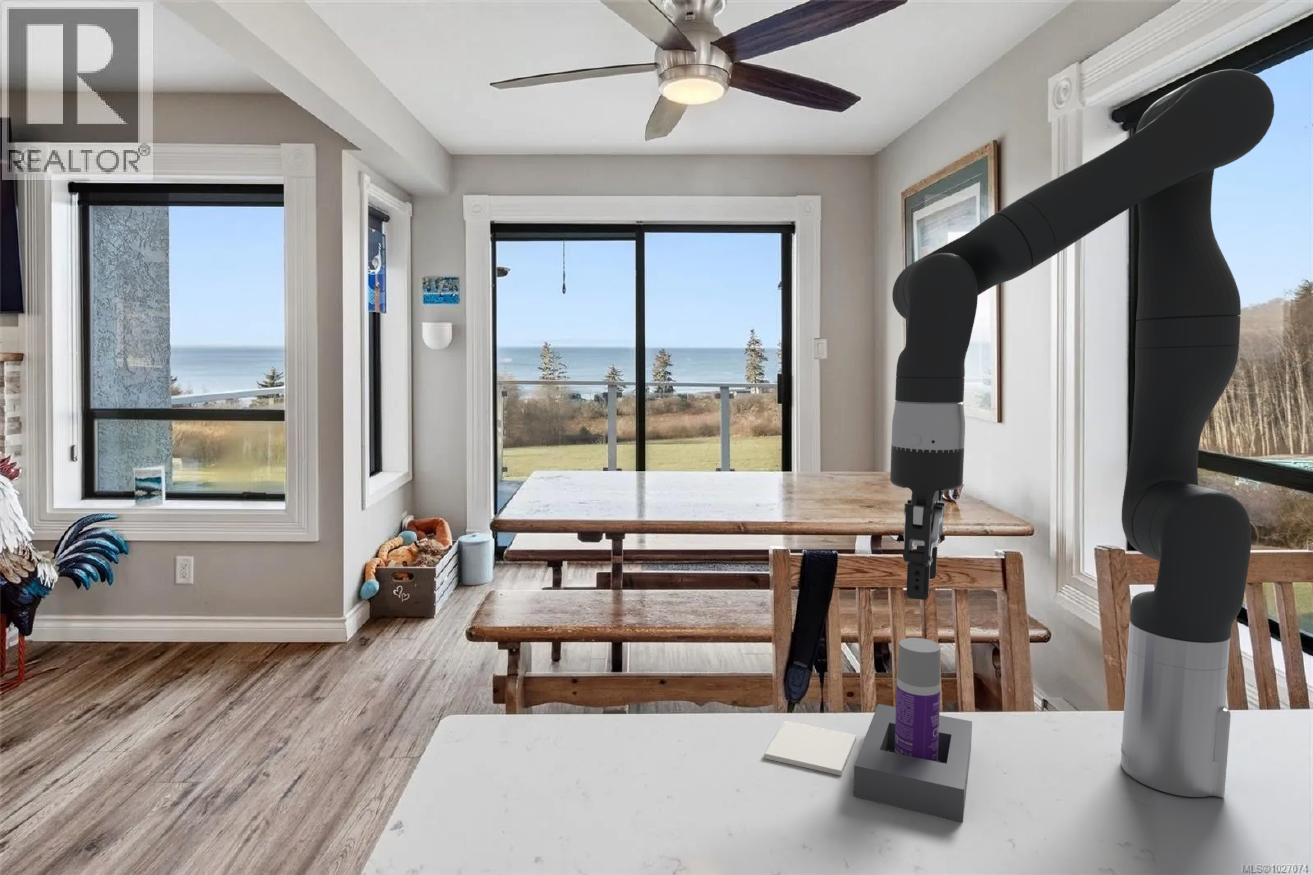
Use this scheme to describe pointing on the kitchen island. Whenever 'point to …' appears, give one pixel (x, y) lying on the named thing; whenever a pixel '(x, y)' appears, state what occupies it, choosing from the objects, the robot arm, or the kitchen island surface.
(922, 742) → the container
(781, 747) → the tile
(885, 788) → the socket block
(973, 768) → the kitchen island surface
